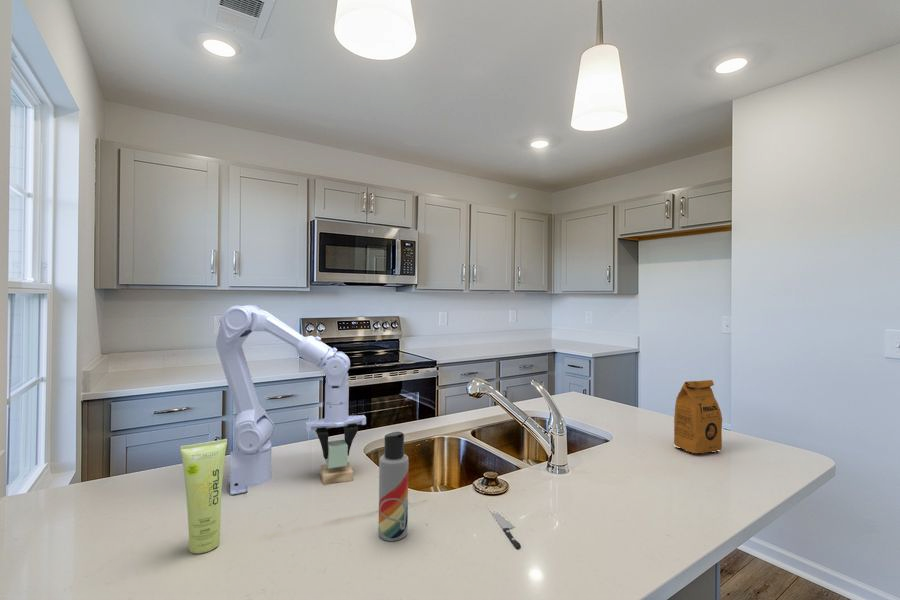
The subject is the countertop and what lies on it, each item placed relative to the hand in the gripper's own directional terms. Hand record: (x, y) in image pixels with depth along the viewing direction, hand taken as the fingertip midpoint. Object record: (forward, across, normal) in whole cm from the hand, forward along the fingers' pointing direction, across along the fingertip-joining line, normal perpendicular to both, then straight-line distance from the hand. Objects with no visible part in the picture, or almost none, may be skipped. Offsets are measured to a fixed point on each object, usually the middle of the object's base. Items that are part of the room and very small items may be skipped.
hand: (336, 456), depth 107 cm
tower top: (+5, 0, 0) cm, 5 cm away
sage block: (+2, 0, 0) cm, 2 cm away
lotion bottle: (+7, +5, -28) cm, 29 cm away
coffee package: (+7, +106, -25) cm, 109 cm away
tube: (+7, -28, -17) cm, 33 cm away
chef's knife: (+7, +27, -34) cm, 44 cm away
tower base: (+7, 0, 0) cm, 7 cm away
